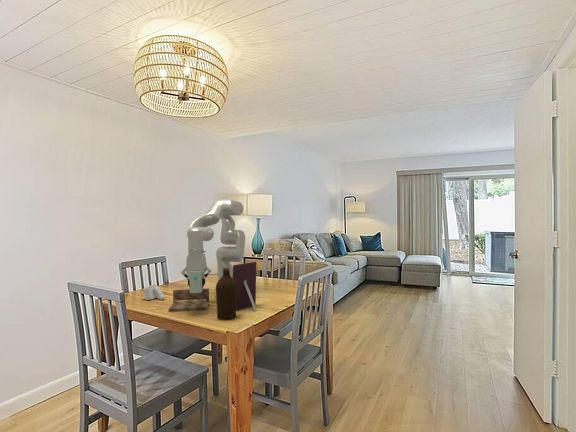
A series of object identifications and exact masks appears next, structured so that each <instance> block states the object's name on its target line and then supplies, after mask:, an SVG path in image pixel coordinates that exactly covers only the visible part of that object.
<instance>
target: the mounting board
mask: <svg viewBox="0 0 576 432" xmlns="http://www.w3.org/2000/svg"><path fill="white" fill-rule="evenodd" d="M172 301H173V302H172V304H171V305H170V307H168V312H169V313H171V312H172V313H174V312H176V313H177V312H194V311H208V308H209V305H210V288H203V289H202V293H190V288H189V289H187V288H186V289H173V290H172Z"/></svg>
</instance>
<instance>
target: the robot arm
mask: <svg viewBox="0 0 576 432" xmlns="http://www.w3.org/2000/svg"><path fill="white" fill-rule="evenodd" d="M243 213H244V205H243V203H242V202H241V201H238V200H235V199H227V198H226V199H223V198H222V199H216V200H214V201H213V202H212V204H211V205H210V207H209V209H208V210H207V212H206V213H205V214H203V215H201V216H199V217H198V218H196V219H194V220H193V221H192V222H191V223H190V225H189V227H188V229H187V231H186V232H187V233H186V238H187V239H188V240H187V243H188V245H187V246H188V248H187V249H188V253H187V255H186V261H185V262H186V263H185V268H184V269H182V271H181V272H180V273H181V274H180V275H182V276H184V278H186V280H187V286H188V287H189V288H190V282H189V272H190V271H202V277H203V278H202V286H203V288H205V287H204V286H205V285H206V278H207V277H208V276H209V275H210V274H211V273H212V270H211V268H209V267H208V266H207V259H206V253H207V250H206V249H204V242H209V241H211V240H212V239H213V238H214V236H215V231H214V230H213V228H211V227H212V226H214V225H217V224H218V223H219V222H220V220H221V229H220V231H221V232H220V239H219V240H220V243H221V244H222V245H228V246H219V247H218V248H217V249H216V251H215V256H216V262H217V282H218V281H219V280H220V278H221V277H222V276H223V268H226V267H228V268H230V269H229V270H230V276H231V277H232V278H233V265H232V263H240V262H241V263H242V261H243V260H244V257H245V248H246V247H245V245H246V234H245V232H244V231H243V230H241V229H236V221H235V219H234V218H233V217H232V216H241V215H242V214H243ZM210 226H211V227H210ZM232 245H233V246H232ZM215 298H216V294H215Z"/></svg>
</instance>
